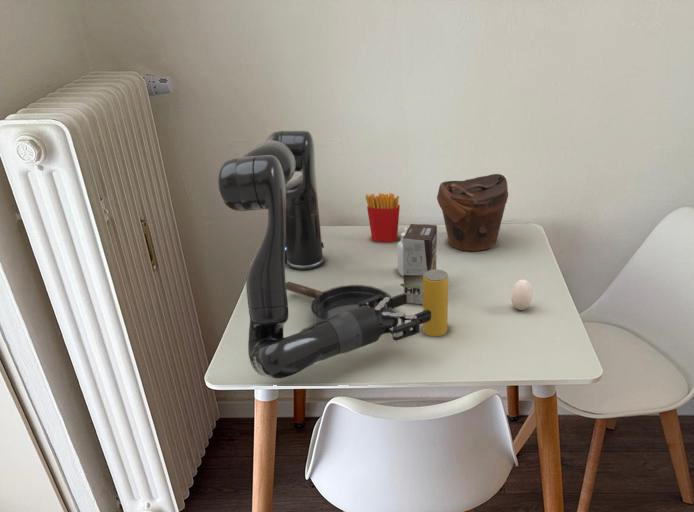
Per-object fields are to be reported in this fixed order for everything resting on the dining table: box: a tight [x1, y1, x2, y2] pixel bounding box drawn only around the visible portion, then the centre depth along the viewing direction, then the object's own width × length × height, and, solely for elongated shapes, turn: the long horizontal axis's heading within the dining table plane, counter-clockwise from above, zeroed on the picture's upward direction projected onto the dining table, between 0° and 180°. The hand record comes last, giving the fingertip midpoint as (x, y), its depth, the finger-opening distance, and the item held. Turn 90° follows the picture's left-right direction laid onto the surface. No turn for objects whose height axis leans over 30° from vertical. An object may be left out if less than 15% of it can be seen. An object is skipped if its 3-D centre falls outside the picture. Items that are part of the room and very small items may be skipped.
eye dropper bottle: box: [397, 227, 408, 277], centre depth 162 cm, size 4×6×12 cm
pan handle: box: [286, 281, 323, 299], centre depth 153 cm, size 11×2×2 cm, turn 58°
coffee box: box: [403, 223, 438, 305], centre depth 151 cm, size 9×6×16 cm
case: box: [436, 173, 509, 252], centre depth 176 cm, size 18×20×18 cm
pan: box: [310, 284, 395, 324], centre depth 147 cm, size 18×18×3 cm
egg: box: [510, 278, 533, 311], centre depth 148 cm, size 5×5×7 cm
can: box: [422, 268, 449, 337], centre depth 139 cm, size 5×5×13 cm
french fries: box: [365, 192, 401, 243], centre depth 180 cm, size 9×4×13 cm, turn 85°
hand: (417, 306), depth 136 cm, fingers open, 8 cm apart
